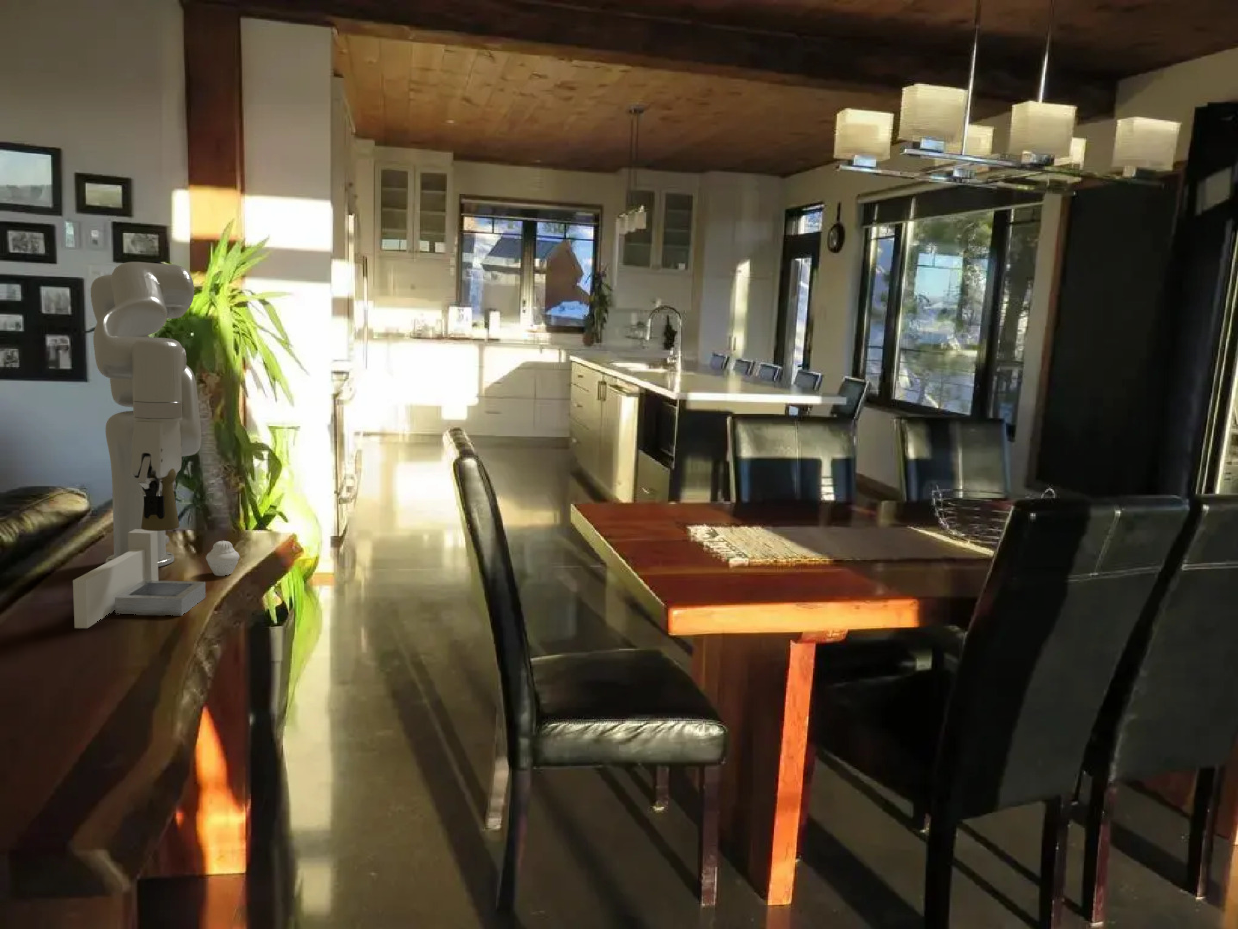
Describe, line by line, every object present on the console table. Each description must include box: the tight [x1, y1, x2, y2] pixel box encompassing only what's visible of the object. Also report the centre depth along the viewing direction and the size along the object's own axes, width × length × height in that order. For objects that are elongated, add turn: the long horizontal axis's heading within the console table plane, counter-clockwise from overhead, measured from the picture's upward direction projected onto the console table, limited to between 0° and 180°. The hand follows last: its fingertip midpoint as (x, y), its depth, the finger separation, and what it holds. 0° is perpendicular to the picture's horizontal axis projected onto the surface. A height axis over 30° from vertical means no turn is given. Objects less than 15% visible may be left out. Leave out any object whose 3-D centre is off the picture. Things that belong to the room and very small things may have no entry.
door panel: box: [72, 529, 159, 629], centre depth 159 cm, size 25×4×11 cm, turn 5°
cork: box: [141, 468, 180, 531], centre depth 158 cm, size 6×6×11 cm
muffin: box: [205, 540, 240, 577], centre depth 183 cm, size 6×6×7 cm
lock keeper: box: [114, 580, 206, 617], centre depth 161 cm, size 11×11×3 cm
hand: (160, 514), depth 159 cm, fingers closed on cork, 3 cm apart
